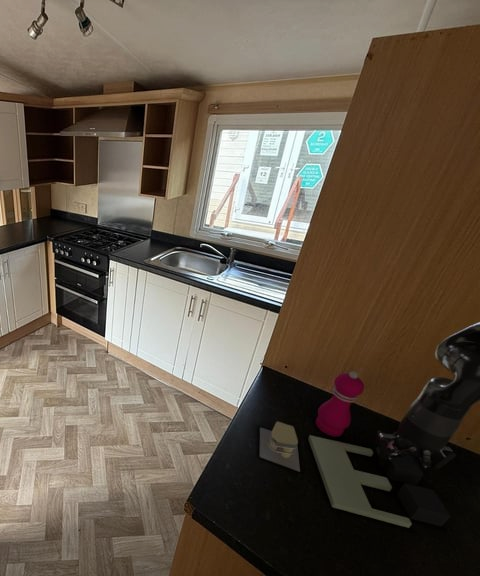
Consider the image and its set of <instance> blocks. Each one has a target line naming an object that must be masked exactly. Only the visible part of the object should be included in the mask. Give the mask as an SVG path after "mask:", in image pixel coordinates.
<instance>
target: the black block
mask: <svg viewBox="0 0 480 576" xmlns="http://www.w3.org/2000/svg"><path fill="white" fill-rule="evenodd" d="M396 496H397V497H398V499H399V500H400V502H401V504H402V506H403V508H404V510H405V511H406V513H407V515H408V518H409V519H410V520H415V521H418V522H422V523H426V524H430V525H434V526H437V527H441V528H442V527H443V526H444V524H446V522H447V521H448V520H449V519H450V518H451V517H452V516H451V514H450V512H449V510H448V509H447V508H446V506H445V504H444V503H443V501H442V500H441V498H440V496H438V494H437V493H436V491H435V490H434V489H431V488H426V487H422V486H418V485H413V484H408V483H404V482H403V484H402V486H401V487H400V488H399V490H398V491H397V492H396Z"/></svg>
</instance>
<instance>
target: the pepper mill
mask: <svg viewBox="0 0 480 576" xmlns="http://www.w3.org/2000/svg"><path fill="white" fill-rule="evenodd" d="M333 383H334V386H333V389H332V393H333V395H332V397H331V398H330V399H329V400H327V401H325V402H324V403H322V404H321V405H320V406H319V407H318V409H317V415H318V416H317V417H316V419H315V425H316V427H317V429H318V430H320V431H321V432H323V433H324V434H325V435H328V436H330V437H334V438H338V437H341V436H342V435H343V433H344V431H345V429H348V428H349V426H350V424H351V421H352V415H351V409H350V407H351V404H352V403H354V402H356V401H357V399H358V396H360V395H362V394H363V392H364V391H365V384H364V382H363V380H362V379H360V377H359V373H357V372H356V371H350V372H349V373H348V372H344V373H340V374H338V375H337V376H335V378H334V382H333Z"/></svg>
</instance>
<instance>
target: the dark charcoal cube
mask: <svg viewBox="0 0 480 576" xmlns="http://www.w3.org/2000/svg"><path fill="white" fill-rule="evenodd" d="M389 453H390V454H391V453H392V451H391V452H389ZM379 457H380V456H379V455H378V457H377V460H378V459H379ZM415 460H416V459H415ZM415 460H414V457H413V455H405V456H403V457H402V458H399V457H397V458H395V459H394V460H392V463H391V464H390V466H389V467H388V469H387V470H383V471H384V473H385V475H386V478H387V479H388V480H393V481H396V482H400V483H403V484H404V483H406V484H410V485H414V486H418V484H419V482H420V481H421V480H422V478H423V477H424V475H425V474H424V472H423V473H422V471H421V470H420V468H419V467H418V465H417V464H416V462H415Z"/></svg>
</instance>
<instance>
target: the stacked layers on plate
mask: <svg viewBox="0 0 480 576" xmlns="http://www.w3.org/2000/svg"><path fill="white" fill-rule="evenodd" d="M298 444H299V440H298V436H297V433H296V430H295V427H294V426H293V425H290V424H287V423H284V422H281V421H276V422H275V424H274V426H273V428H272V430H269V429H267V428H264V427H259V458H261V459H264V460H266V461H268V462H269V461H270V462H272V463H274V464H277V465H280V466H283V467H285V468H288V469H291V470H294V471H296V472H298V473H301V468H300V467H301V466H300V456H299V449H298Z"/></svg>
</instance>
